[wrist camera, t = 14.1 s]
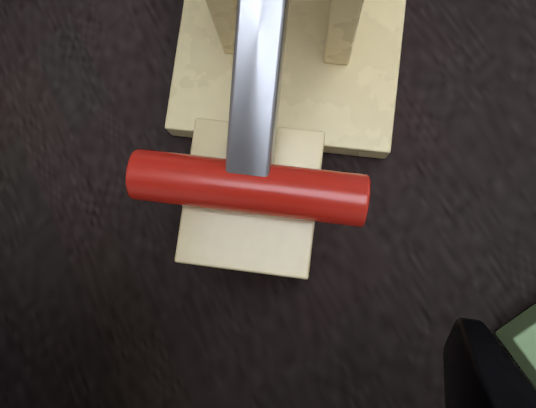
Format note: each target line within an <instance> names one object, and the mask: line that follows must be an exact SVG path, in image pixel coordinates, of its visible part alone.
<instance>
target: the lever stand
mask: <svg viewBox="0 0 536 408" xmlns="http://www.w3.org/2000/svg"><path fill="white" fill-rule="evenodd" d="M405 7H406V0H289V10H288V20H287V30H286V40H285V50H284V61H283V71H282V81H281V91H280V101H279V111H278V121H277V127H286V128H295V129H305V130H314V131H323V132H325V141H324V149H323V152H327V153H336V154H345V155H354V156H363V157H372V158H381V159H385V158H386V157H387V156H388V154H389V153H390V152H391V143H392V133H393V123H394V114H395V104H396V94H397V85H398V75H399V65H400V55H401V46H402V36H403V26H404V17H405ZM236 12H237V0H184V5H183V11H182V18H181V24H180V30H179V37H178V43H177V50H176V56H175V63H174V69H173V76H172V82H171V89H170V95H169V102H168V108H167V115H166V121H165V129H166V130H167V131H168V132H169V133H170V134H171V135H173V136H182V137H191V138H193V132H194V125H195V119H196V118H202V119H211V120H221V121H229V110H230V96H231V82H232V68H233V54H234V40H235V26H236Z"/></svg>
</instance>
